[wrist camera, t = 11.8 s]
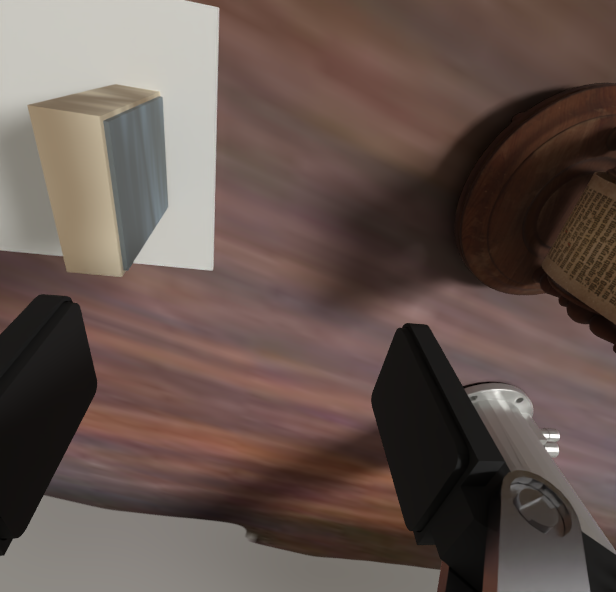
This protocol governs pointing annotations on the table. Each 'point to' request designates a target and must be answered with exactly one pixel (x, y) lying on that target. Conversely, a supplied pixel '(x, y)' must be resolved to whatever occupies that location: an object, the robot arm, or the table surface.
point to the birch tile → (103, 173)
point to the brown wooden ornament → (549, 207)
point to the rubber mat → (103, 72)
